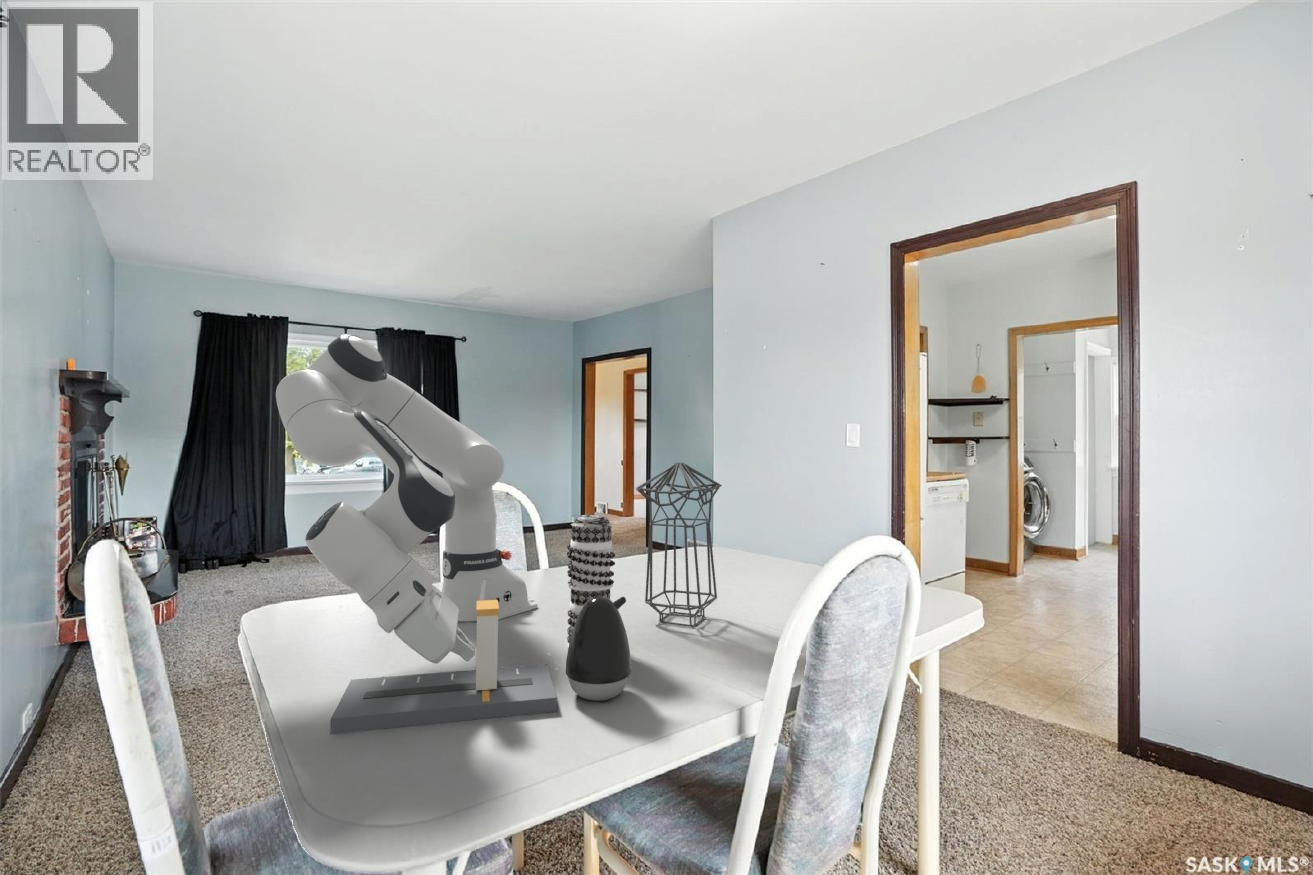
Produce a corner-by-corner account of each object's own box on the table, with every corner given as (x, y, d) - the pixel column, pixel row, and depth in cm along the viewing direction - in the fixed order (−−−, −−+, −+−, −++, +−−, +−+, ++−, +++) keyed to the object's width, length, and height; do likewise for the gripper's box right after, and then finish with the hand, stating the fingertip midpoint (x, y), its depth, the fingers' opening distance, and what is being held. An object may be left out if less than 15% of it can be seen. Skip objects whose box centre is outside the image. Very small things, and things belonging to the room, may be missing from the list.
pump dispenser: (645, 694, 99) (646, 597, 99) (593, 714, 92) (594, 609, 92) (603, 676, 106) (605, 585, 106) (552, 693, 99) (553, 596, 99)
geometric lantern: (701, 635, 130) (699, 464, 130) (633, 625, 137) (631, 463, 137) (727, 615, 144) (725, 460, 144) (664, 607, 151) (662, 460, 151)
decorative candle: (555, 646, 121) (557, 515, 121) (592, 636, 127) (595, 512, 127) (585, 659, 114) (587, 520, 114) (623, 647, 121) (625, 516, 121)
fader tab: (475, 690, 94) (476, 609, 94) (475, 677, 99) (476, 600, 99) (497, 688, 95) (498, 608, 95) (496, 676, 100) (497, 599, 100)
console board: (330, 733, 84) (330, 717, 85) (350, 692, 98) (351, 678, 98) (556, 711, 93) (556, 696, 93) (546, 676, 106) (547, 663, 106)
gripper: (396, 592, 103) (458, 648, 105) (376, 630, 83) (453, 697, 86) (426, 563, 104) (486, 619, 107) (413, 594, 84) (488, 662, 87)
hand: (471, 655), depth 96 cm, fingers closed, pressing on fader tab
